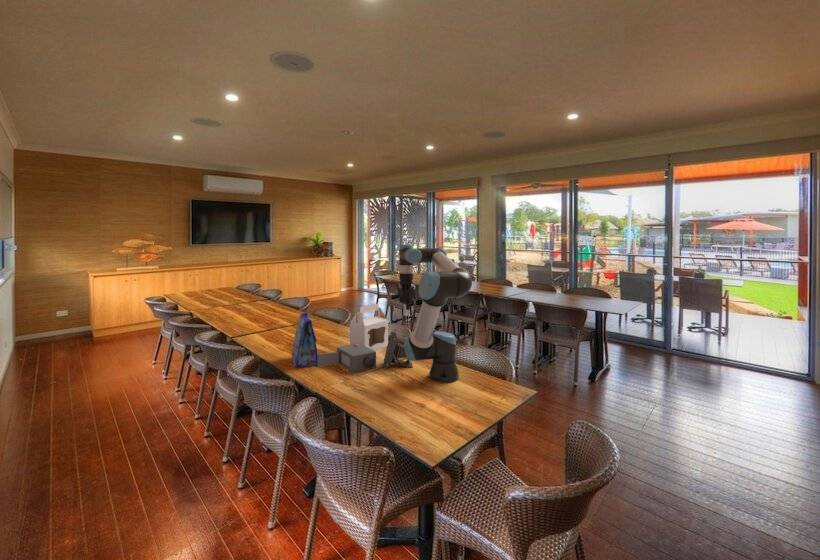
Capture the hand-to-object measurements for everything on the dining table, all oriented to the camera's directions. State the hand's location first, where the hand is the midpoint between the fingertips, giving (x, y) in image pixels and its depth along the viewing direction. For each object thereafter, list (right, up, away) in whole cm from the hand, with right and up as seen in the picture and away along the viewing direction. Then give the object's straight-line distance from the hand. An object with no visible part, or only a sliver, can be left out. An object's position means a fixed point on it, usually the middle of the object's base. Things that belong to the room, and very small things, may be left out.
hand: (406, 315), depth 213 cm
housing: (-28, -28, +3) cm, 40 cm away
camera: (-4, -29, +4) cm, 29 cm away
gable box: (-24, -24, +36) cm, 50 cm away
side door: (-43, -27, 0) cm, 51 cm away
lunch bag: (-58, -28, +9) cm, 65 cm away
